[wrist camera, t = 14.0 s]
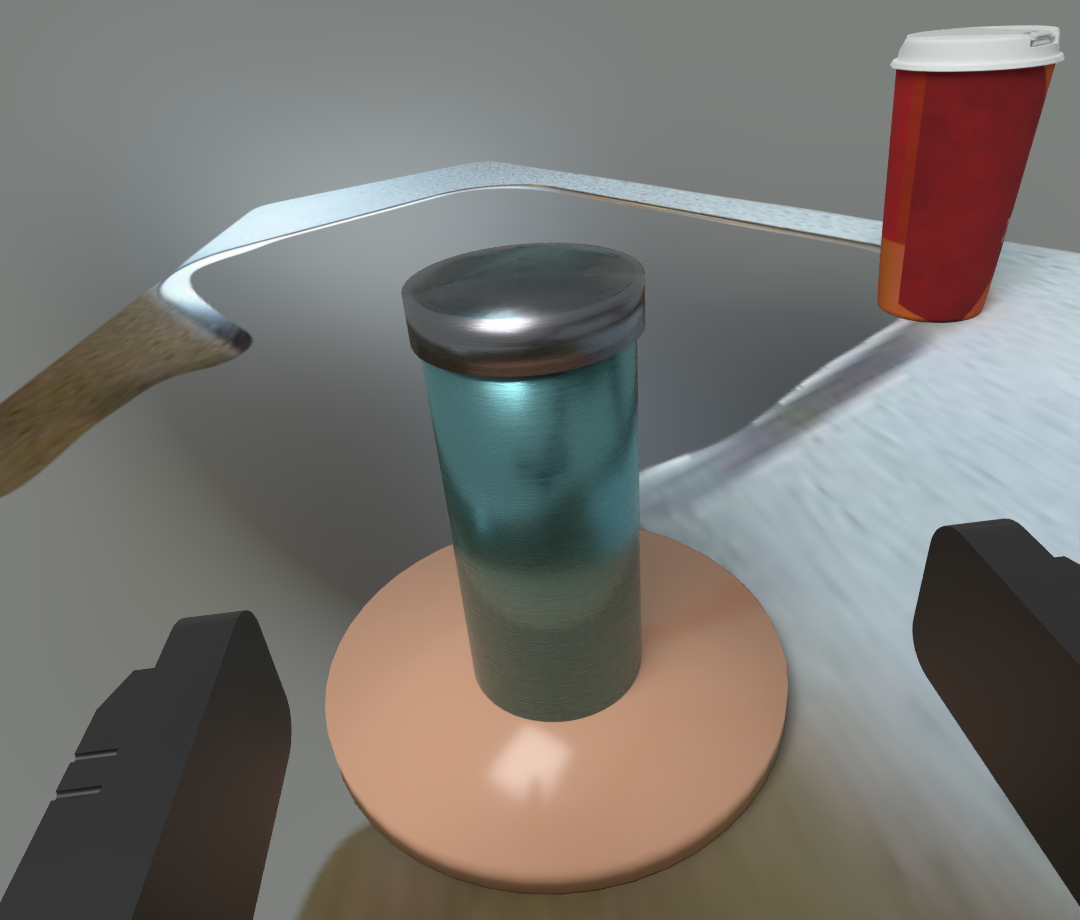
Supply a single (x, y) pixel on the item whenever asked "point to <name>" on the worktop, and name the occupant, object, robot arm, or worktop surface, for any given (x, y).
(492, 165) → the worktop surface
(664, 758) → the dish
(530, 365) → the canister
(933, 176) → the coffee cup
